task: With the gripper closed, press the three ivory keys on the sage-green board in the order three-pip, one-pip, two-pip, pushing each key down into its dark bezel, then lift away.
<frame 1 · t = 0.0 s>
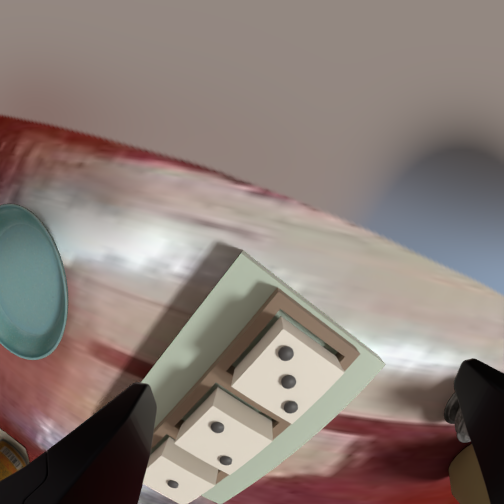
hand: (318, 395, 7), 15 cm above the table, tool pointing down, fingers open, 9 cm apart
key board: (229, 403, 24), on the table
three-pip key: (287, 372, 19), point 4 cm above the table, slide at 0.0 cm
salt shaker: (462, 402, 24), on the table
saucer: (27, 279, 24), on the table
squeeze bottle: (465, 456, 24), on the table
one-pip key: (176, 474, 20), point 4 cm above the table, slide at 0.0 cm
two-pip key: (223, 434, 19), point 4 cm above the table, slide at 0.0 cm
condiment: (14, 451, 27), on the table
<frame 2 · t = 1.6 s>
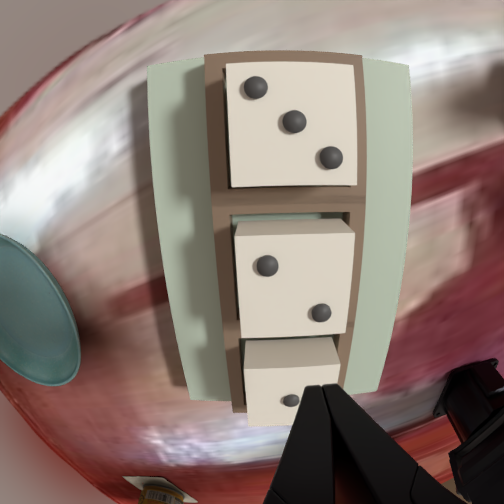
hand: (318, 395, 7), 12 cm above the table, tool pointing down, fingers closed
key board: (285, 247, 19), on the table
three-pip key: (291, 123, 12), point 4 cm above the table, slide at 0.0 cm
saucer: (27, 302, 21), on the table
one-pip key: (289, 385, 17), point 4 cm above the table, slide at 0.0 cm
two-pip key: (293, 278, 14), point 4 cm above the table, slide at 0.0 cm
condiment: (160, 488, 31), on the table
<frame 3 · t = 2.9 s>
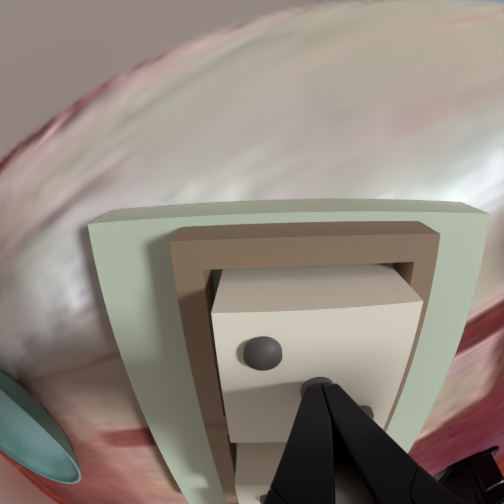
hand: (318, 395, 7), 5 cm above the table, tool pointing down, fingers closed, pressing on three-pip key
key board: (292, 414, 14), on the table
three-pip key: (311, 361, 8), point 4 cm above the table, slide at 0.7 cm, touching gripper
saucer: (18, 409, 17), on the table
two-pip key: (298, 484, 10), point 4 cm above the table, slide at 0.0 cm
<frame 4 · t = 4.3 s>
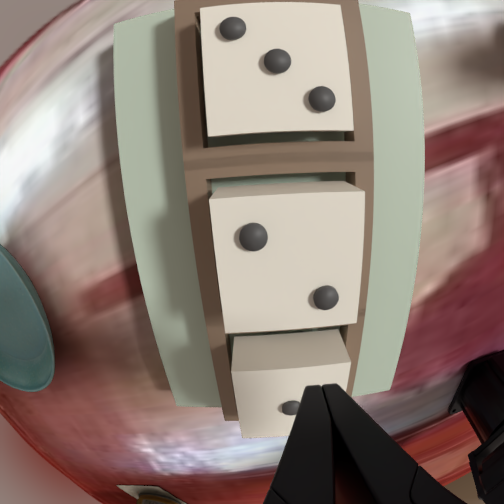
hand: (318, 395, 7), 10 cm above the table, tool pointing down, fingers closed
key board: (278, 223, 16), on the table
three-pip key: (275, 69, 10), point 3 cm above the table, slide at 1.0 cm
saucer: (1, 301, 18), on the table
one-pip key: (289, 389, 14), point 4 cm above the table, slide at 0.0 cm
two-pip key: (288, 255, 11), point 4 cm above the table, slide at 0.0 cm
condiment: (157, 497, 28), on the table
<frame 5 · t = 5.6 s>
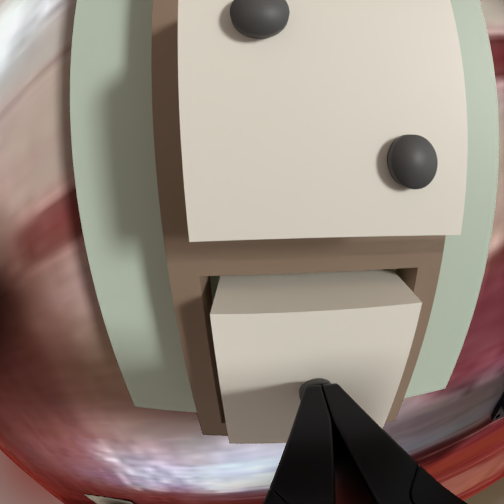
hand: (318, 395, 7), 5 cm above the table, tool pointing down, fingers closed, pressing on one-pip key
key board: (297, 114, 9), on the table
one-pip key: (310, 362, 8), point 3 cm above the table, slide at 1.0 cm, touching gripper
two-pip key: (325, 94, 5), point 4 cm above the table, slide at 0.0 cm
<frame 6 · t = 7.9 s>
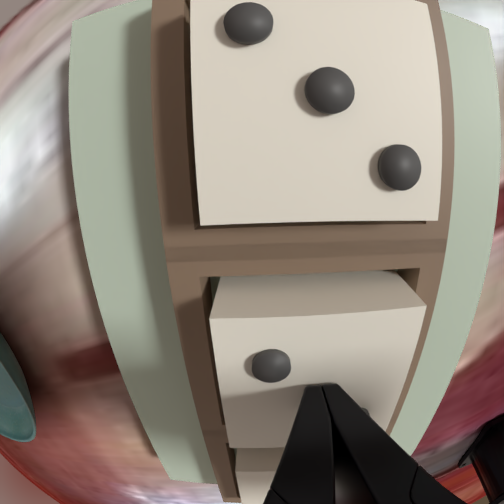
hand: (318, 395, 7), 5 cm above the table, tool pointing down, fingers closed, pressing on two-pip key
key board: (298, 306, 12), on the table
three-pip key: (317, 99, 6), point 3 cm above the table, slide at 1.0 cm
one-pip key: (297, 473, 11), point 3 cm above the table, slide at 1.1 cm
two-pip key: (312, 366, 8), point 4 cm above the table, slide at 0.9 cm, touching gripper
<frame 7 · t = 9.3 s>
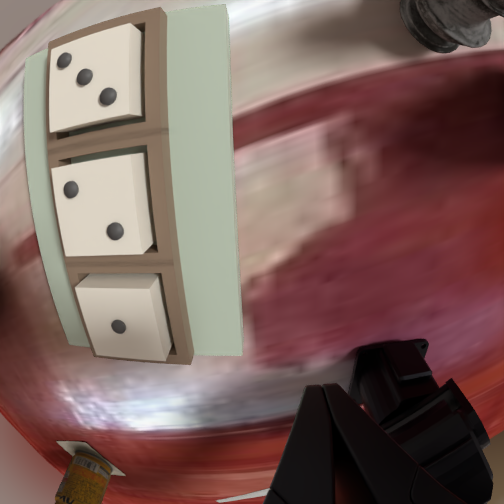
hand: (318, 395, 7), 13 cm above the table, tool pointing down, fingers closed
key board: (127, 193, 18), on the table
three-pip key: (96, 80, 13), point 3 cm above the table, slide at 1.0 cm
butter knife: (217, 499, 34), on the table
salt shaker: (430, 21, 14), on the table
one-pip key: (125, 315, 18), point 3 cm above the table, slide at 1.1 cm
two-pip key: (103, 204, 15), point 4 cm above the table, slide at 0.9 cm
condiment: (90, 457, 31), on the table
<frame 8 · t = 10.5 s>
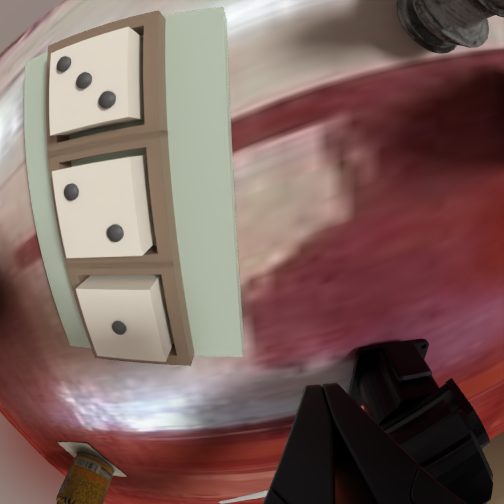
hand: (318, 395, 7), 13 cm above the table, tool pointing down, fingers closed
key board: (127, 195, 19), on the table
three-pip key: (95, 83, 13), point 3 cm above the table, slide at 1.0 cm
butter knife: (219, 500, 34), on the table
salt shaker: (428, 21, 14), on the table
one-pip key: (126, 317, 18), point 3 cm above the table, slide at 1.1 cm
two-pip key: (103, 206, 15), point 4 cm above the table, slide at 0.9 cm
condiment: (92, 458, 31), on the table
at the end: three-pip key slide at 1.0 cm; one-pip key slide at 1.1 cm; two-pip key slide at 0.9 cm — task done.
